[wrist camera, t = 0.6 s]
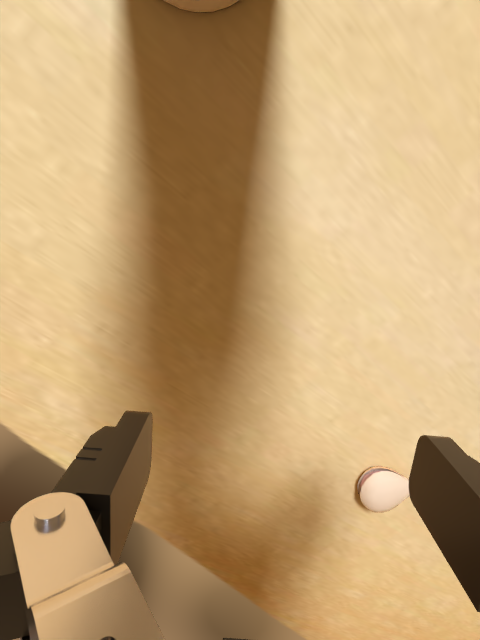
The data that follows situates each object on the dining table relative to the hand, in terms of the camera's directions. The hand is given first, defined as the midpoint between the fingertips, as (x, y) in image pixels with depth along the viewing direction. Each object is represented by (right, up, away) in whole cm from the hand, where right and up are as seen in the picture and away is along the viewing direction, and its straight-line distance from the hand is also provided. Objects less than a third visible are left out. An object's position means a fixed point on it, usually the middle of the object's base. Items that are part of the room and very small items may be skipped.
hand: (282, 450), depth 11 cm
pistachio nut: (+12, -10, +23) cm, 28 cm away
